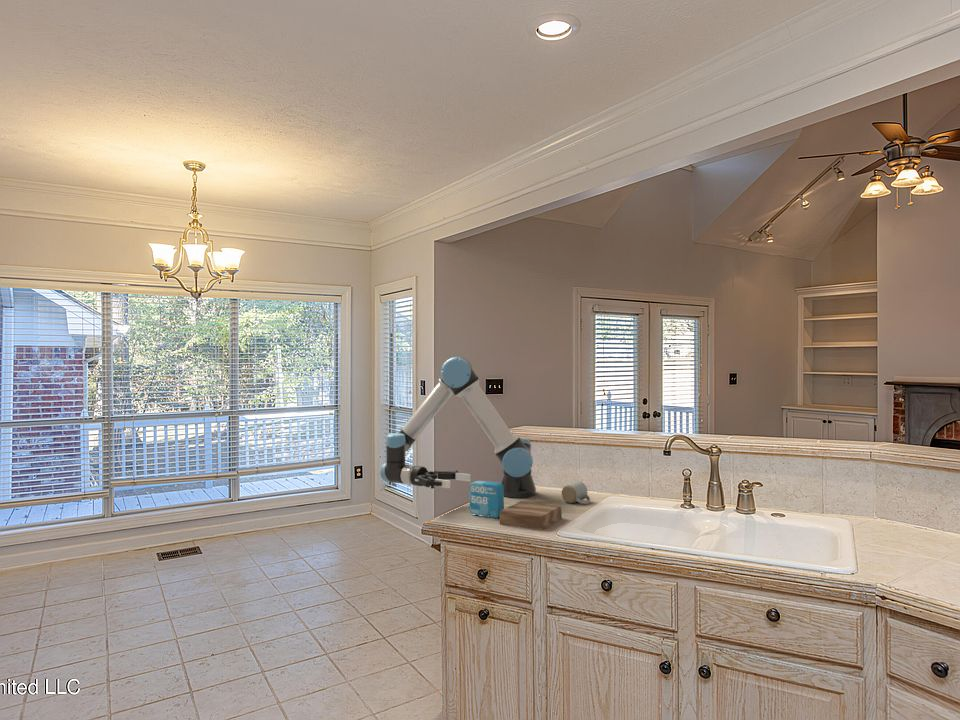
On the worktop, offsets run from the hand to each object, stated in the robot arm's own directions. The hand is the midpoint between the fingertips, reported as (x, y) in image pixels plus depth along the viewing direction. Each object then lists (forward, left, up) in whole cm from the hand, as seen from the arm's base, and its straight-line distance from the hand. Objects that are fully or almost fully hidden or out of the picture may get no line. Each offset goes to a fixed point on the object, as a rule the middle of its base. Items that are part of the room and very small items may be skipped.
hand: (460, 481), depth 227 cm
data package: (0, +11, -12) cm, 16 cm away
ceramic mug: (-33, +33, -12) cm, 48 cm away
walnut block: (0, +29, -12) cm, 31 cm away
